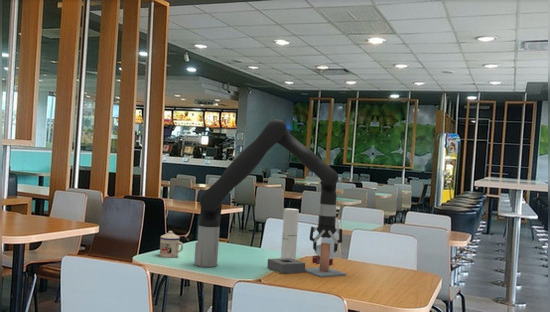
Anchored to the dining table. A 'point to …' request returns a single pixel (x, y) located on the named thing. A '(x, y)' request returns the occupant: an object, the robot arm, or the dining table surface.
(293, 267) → the gray square hole block
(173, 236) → the teacup with lid
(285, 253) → the cylindrical container
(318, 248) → the canned food
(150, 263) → the dining table surface
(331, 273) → the mat
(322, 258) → the plug
